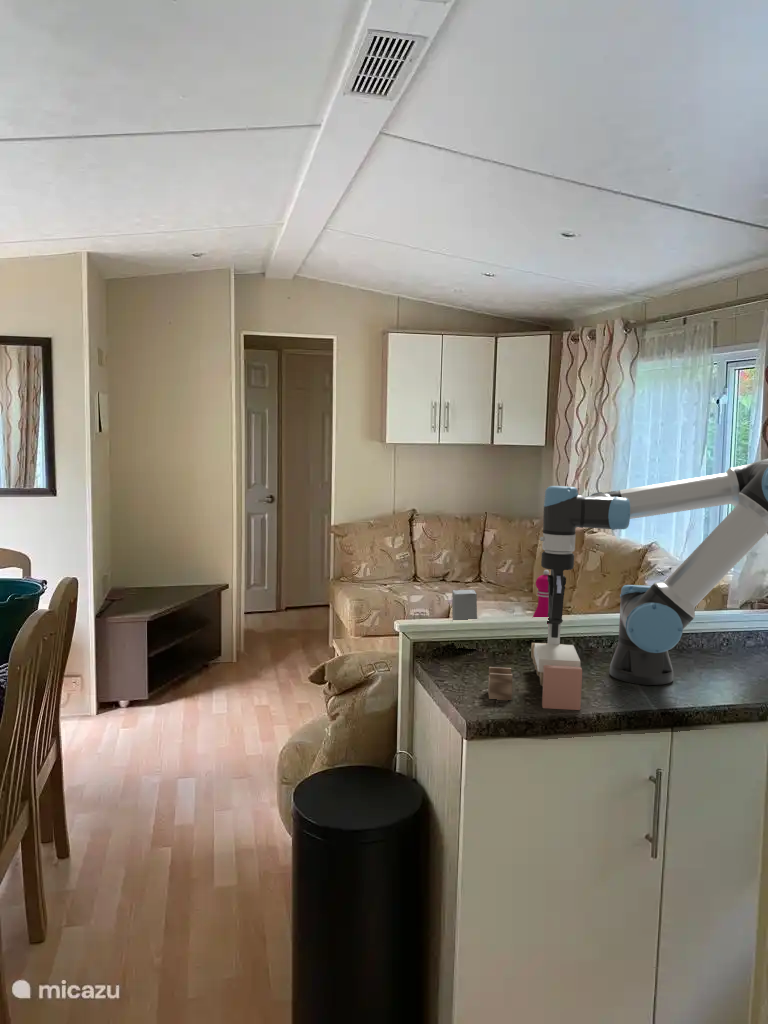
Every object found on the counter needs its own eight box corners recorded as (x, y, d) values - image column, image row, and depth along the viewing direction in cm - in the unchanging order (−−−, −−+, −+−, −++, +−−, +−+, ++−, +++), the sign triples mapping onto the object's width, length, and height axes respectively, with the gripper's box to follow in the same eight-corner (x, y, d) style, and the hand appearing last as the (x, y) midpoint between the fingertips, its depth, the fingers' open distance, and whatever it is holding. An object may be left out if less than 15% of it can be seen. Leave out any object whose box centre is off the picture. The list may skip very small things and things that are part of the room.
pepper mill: (550, 639, 239) (553, 572, 237) (527, 636, 243) (530, 569, 241) (559, 635, 245) (562, 569, 243) (536, 631, 249) (539, 567, 247)
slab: (572, 657, 192) (573, 645, 192) (579, 674, 179) (580, 661, 179) (534, 655, 193) (534, 643, 193) (538, 672, 180) (539, 659, 180)
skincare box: (478, 650, 224) (480, 594, 223) (452, 649, 224) (454, 593, 223) (474, 643, 233) (476, 588, 231) (450, 642, 233) (451, 587, 231)
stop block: (579, 707, 177) (580, 666, 177) (580, 710, 175) (582, 669, 175) (542, 705, 178) (543, 665, 177) (542, 708, 176) (544, 667, 175)
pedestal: (510, 692, 187) (510, 667, 186) (511, 700, 181) (512, 675, 180) (488, 691, 187) (489, 666, 187) (489, 699, 181) (490, 674, 181)
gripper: (539, 547, 198) (535, 642, 200) (544, 554, 185) (539, 656, 187) (570, 548, 197) (566, 644, 199) (577, 556, 184) (572, 658, 186)
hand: (553, 649), depth 193 cm, fingers closed
